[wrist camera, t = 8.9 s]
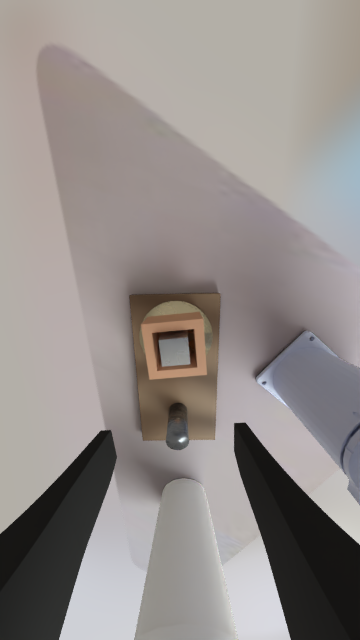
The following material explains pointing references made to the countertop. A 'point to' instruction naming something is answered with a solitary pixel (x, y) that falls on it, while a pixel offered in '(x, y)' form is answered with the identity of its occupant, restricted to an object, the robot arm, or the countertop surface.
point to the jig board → (185, 390)
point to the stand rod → (177, 427)
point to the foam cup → (185, 572)
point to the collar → (173, 324)
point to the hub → (178, 334)
